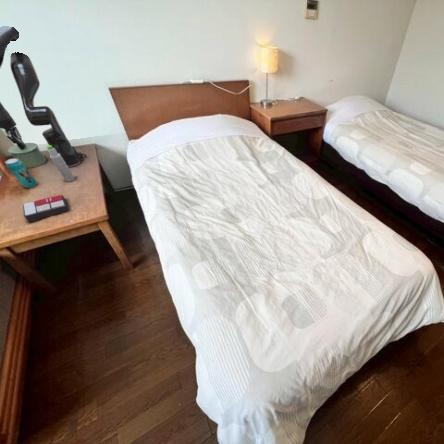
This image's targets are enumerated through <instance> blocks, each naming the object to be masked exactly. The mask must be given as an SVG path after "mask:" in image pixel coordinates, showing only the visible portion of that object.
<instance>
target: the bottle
mask: <svg viewBox="0 0 444 444" xmlns="http://www.w3.org/2000/svg"><path fill="white" fill-rule="evenodd" d="M46 148H47V149H46V150H47V152H48V154H49V158H50V159H51V162H53V164H54V165H55V167H56V168H57V170H58V172H59V173H60V175H61V176H62V177H63V179H64V181H65V182H72V181H74V180H75V178H76V177H75V176H74V174H73V173H72V171H71V169H70V167H68V166H67V164H66V163H65V161H64V160H63V158H62V157H61V155H60V154H59V153H57V151H56V150H55V148H53V147H52V146H51V145H49V144H48V145H47V146H46Z"/></svg>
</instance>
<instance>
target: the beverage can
mask: <svg viewBox="0 0 444 444" xmlns="http://www.w3.org/2000/svg"><path fill="white" fill-rule="evenodd" d="M4 163H5V166H6V167H7V168H8V169H9V171H10V172H11V174H13V176H14V177H15V178H16V180H17V181H18V182H19V183H20V184H21V185H22V186H23V187H25V188H27V189H31V188H35V187H36V186H37V185H38V184H37V183H38V182H37V180H36V179H35V178H34V176H33V175H32V174H31V172H30V171H29V169H28V168H26V167H25V166H24V164H23V163H22V162H21V161H20V160H19V159H17V158H14V157H13V158H9V159H7V160H5V161H4Z"/></svg>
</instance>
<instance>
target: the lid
mask: <svg viewBox="0 0 444 444" xmlns="http://www.w3.org/2000/svg"><path fill="white" fill-rule="evenodd" d="M20 141H21V140H20ZM22 141H23V140H22ZM22 141H21V143H22ZM22 144H23V143H22ZM24 144H25V145H26V146H25V145H24ZM24 144H23V145H24V147H25V149H20V148H19V147H18V146H17V144H14V145H12V146H11V147H9V148H8V150H7V151H8V153H9V154H11V153H12V154H23V153H28V152H31V151H33V150H35V149H37V148H39V144H37V143H35V142H24ZM12 154H11V155H12Z"/></svg>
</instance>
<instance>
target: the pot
mask: <svg viewBox="0 0 444 444" xmlns="http://www.w3.org/2000/svg"><path fill="white" fill-rule="evenodd" d="M10 154H11V156H12V157H13V158H17V159H19V160H20V161H21V162H22V163H23V164H24V166H25V167H26V168H27V169H28V168H29V169H30V168H36V167H40V166H42V165H44V164H45V163H46V162H47V158H46V157H45V155H44V153H43V152H42V150H41V149H40V148H39V147H38V148H37V149H35V150H33V151H31V152H28V153H23V154H12V153H10Z"/></svg>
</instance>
